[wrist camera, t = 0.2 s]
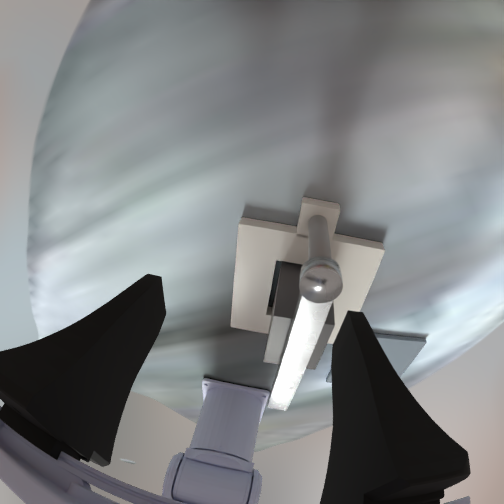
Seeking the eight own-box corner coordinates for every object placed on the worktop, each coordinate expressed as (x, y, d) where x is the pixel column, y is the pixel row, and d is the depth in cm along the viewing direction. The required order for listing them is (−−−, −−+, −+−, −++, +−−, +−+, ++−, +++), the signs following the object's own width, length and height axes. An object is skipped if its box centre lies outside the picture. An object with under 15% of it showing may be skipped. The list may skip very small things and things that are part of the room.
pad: (391, 383, 28) (392, 386, 27) (326, 378, 29) (326, 382, 28) (425, 338, 23) (426, 342, 23) (351, 330, 24) (351, 334, 24)
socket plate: (342, 336, 25) (345, 393, 20) (232, 318, 25) (216, 373, 21) (391, 215, 18) (418, 266, 13) (244, 187, 19) (220, 231, 14)
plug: (315, 310, 23) (315, 369, 19) (273, 303, 24) (263, 361, 19) (330, 265, 21) (335, 325, 16) (282, 257, 21) (273, 315, 16)
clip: (304, 252, 13) (304, 265, 12) (346, 260, 13) (348, 273, 12) (265, 396, 21) (263, 406, 20) (290, 400, 21) (289, 410, 20)
